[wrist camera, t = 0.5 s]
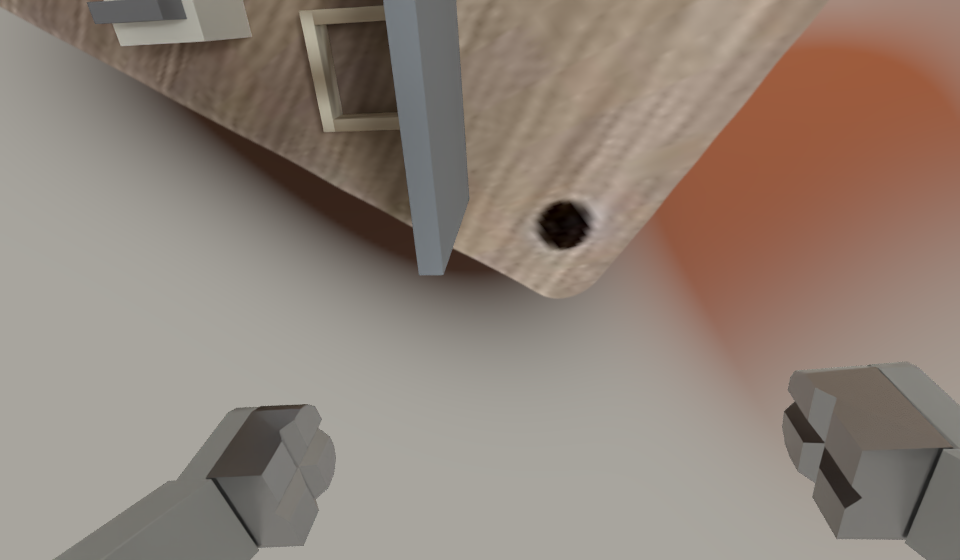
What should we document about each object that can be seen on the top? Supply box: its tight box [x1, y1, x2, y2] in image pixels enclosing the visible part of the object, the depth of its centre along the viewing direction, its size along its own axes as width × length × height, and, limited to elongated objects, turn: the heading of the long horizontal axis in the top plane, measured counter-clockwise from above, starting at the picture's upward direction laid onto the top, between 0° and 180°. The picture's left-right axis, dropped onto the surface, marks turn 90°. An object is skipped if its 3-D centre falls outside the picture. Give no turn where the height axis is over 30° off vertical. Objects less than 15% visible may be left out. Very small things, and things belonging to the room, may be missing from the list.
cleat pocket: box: [299, 5, 400, 132], centre depth 47 cm, size 11×12×3 cm
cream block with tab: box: [87, 0, 252, 46], centre depth 43 cm, size 5×8×11 cm, turn 93°
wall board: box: [383, 0, 469, 275], centre depth 40 cm, size 28×2×18 cm, turn 3°
